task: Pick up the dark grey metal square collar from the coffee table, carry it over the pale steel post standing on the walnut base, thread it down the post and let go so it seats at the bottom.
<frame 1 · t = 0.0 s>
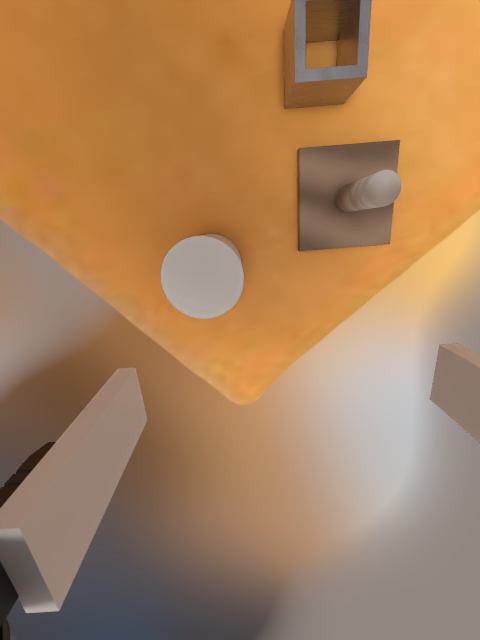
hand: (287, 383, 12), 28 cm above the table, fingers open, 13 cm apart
collar: (314, 69, 31), on the table
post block: (343, 199, 35), on the table
gold-veined taupe cylinder: (212, 264, 38), on the table
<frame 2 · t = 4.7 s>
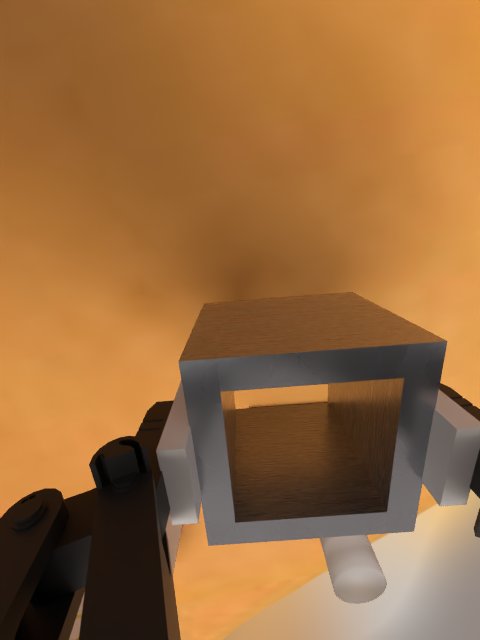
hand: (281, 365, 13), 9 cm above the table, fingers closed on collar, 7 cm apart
collar: (280, 364, 14), point 9 cm above the table, touching gripper
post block: (314, 456, 26), on the table
gold-veined taupe cylinder: (144, 518, 29), on the table
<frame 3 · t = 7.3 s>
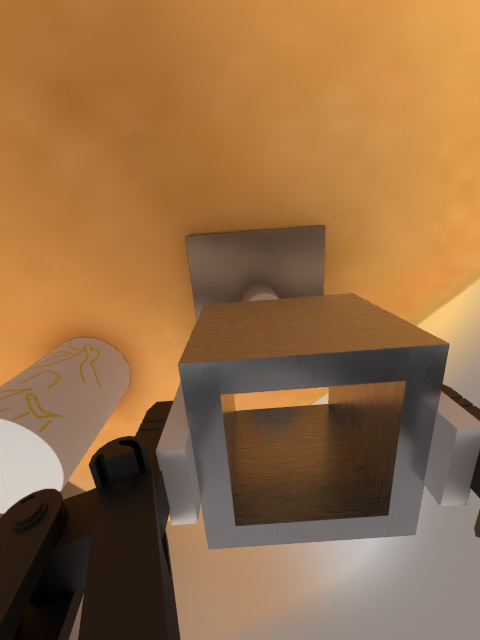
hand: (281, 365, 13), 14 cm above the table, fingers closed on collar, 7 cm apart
collar: (280, 365, 14), point 13 cm above the table, touching gripper
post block: (257, 295, 26), on the table
gold-veined taupe cylinder: (92, 371, 29), on the table
when the fingers open (2 cm above the table, at t = 10.2 s): collar stays where it is, resting on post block.
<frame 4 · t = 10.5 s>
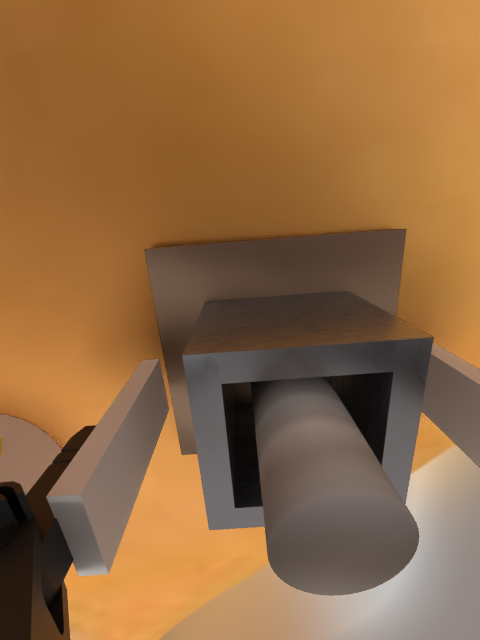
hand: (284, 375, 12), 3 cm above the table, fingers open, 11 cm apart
collar: (278, 360, 14), point 1 cm above the table, touching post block
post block: (275, 348, 15), on the table
gold-veined taupe cylinder: (8, 462, 18), on the table
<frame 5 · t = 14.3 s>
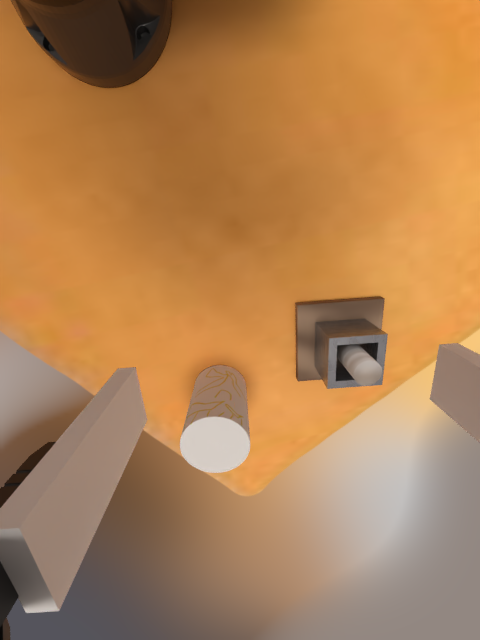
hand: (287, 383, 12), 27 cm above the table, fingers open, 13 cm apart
collar: (338, 343, 39), point 1 cm above the table, touching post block
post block: (336, 338, 40), on the table
gold-veined taupe cylinder: (220, 387, 43), on the table
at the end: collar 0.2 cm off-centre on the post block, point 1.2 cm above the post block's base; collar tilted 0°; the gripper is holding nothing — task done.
